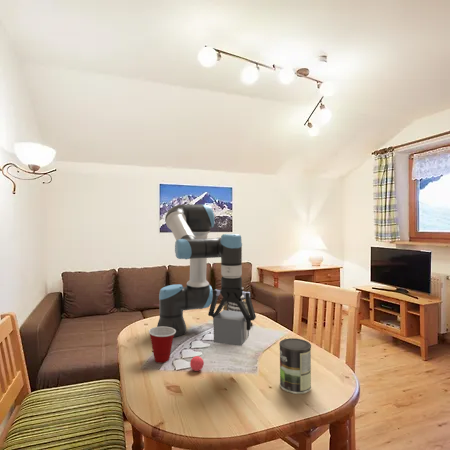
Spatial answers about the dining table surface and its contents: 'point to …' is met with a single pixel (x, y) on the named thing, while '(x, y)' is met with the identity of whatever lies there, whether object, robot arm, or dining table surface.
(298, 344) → the coffee can
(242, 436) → the dining table surface
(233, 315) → the grey cube
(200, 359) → the ball
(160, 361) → the plastic cup
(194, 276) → the robot arm
